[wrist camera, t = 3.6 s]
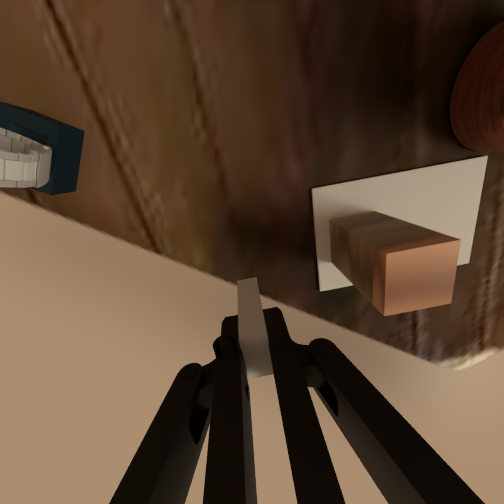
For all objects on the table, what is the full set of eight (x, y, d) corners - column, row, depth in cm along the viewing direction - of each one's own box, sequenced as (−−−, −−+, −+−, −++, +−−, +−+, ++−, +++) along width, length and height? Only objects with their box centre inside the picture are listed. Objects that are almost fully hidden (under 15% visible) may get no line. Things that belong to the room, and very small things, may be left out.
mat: (311, 188, 24) (312, 189, 23) (484, 155, 24) (487, 155, 23) (319, 290, 28) (320, 291, 28) (466, 262, 28) (468, 263, 28)
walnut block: (328, 219, 25) (386, 253, 15) (375, 211, 25) (460, 239, 15) (331, 262, 26) (384, 316, 17) (374, 254, 26) (450, 303, 17)
